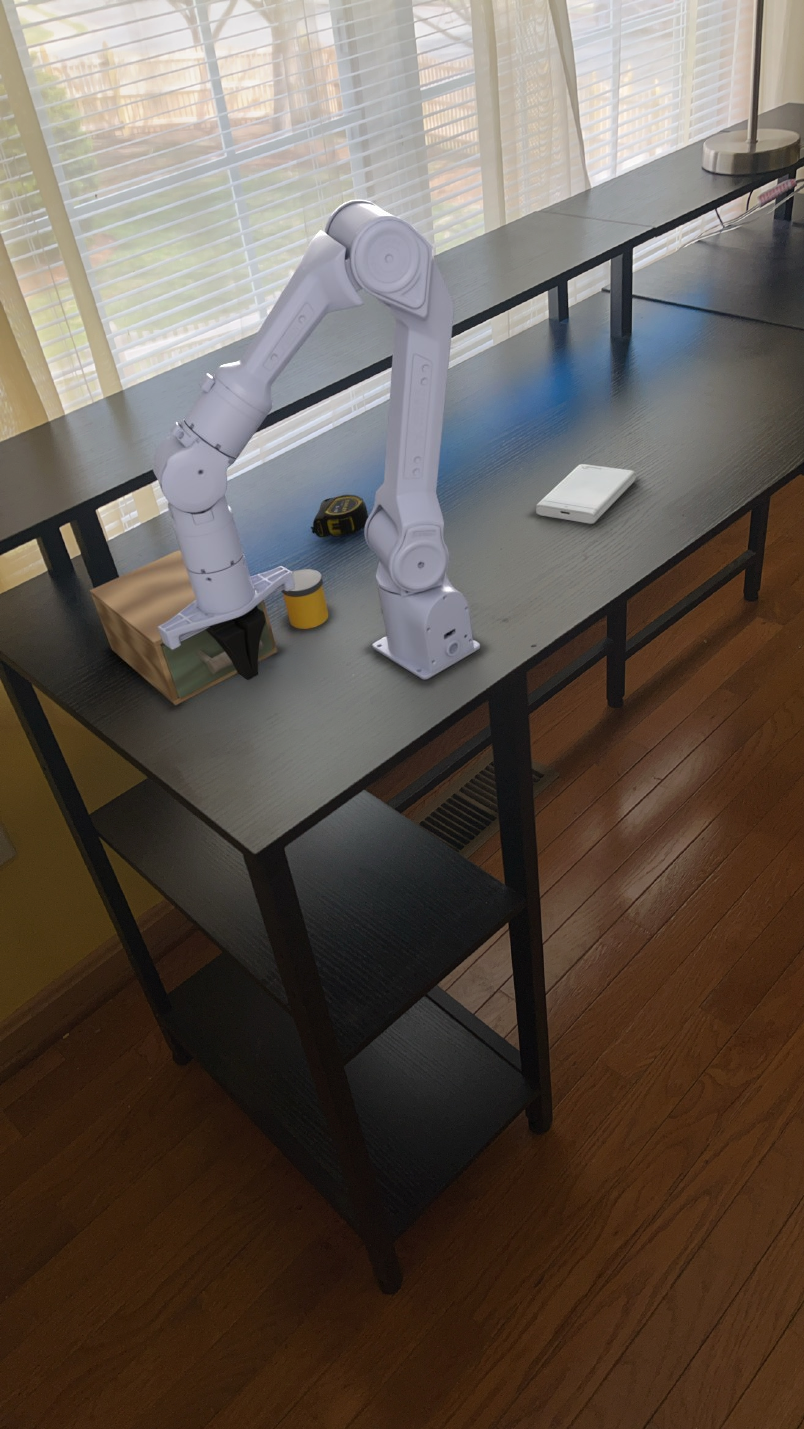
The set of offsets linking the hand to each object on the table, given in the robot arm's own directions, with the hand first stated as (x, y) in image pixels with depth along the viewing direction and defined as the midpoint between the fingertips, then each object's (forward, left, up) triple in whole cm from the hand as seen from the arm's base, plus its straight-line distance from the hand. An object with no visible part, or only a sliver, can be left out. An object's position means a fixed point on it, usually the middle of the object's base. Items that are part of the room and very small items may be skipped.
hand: (248, 674), depth 107 cm
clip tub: (+9, -13, -3) cm, 16 cm away
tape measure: (+24, -28, -4) cm, 37 cm away
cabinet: (+14, 0, -3) cm, 14 cm away
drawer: (+11, 0, -3) cm, 11 cm away
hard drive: (+4, -54, -4) cm, 54 cm away
